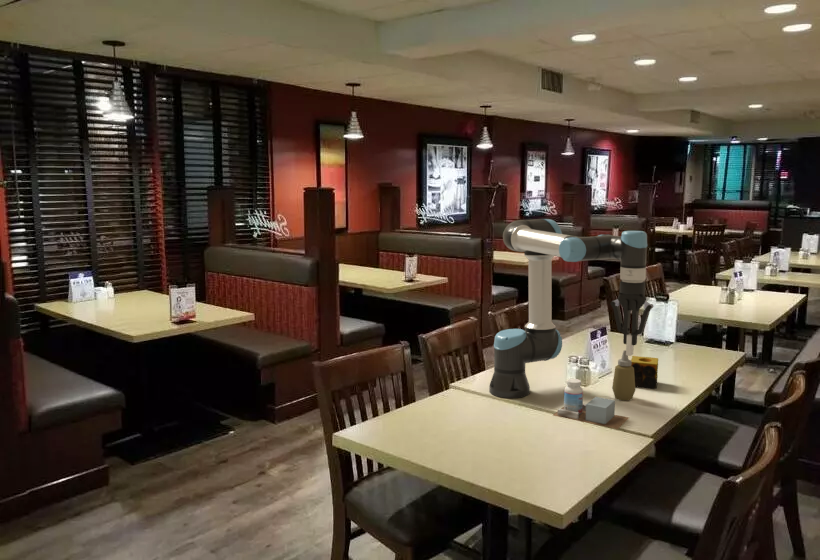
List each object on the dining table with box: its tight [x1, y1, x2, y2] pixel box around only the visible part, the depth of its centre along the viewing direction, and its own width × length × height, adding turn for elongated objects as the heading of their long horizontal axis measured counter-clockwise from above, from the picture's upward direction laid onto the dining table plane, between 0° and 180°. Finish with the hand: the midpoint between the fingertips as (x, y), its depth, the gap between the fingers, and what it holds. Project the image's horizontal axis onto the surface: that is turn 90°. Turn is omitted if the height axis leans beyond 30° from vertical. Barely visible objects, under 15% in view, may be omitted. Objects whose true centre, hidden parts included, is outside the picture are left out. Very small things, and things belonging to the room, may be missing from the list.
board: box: [552, 403, 630, 430], centre depth 216 cm, size 22×12×4 cm, turn 54°
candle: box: [630, 355, 659, 390], centre depth 253 cm, size 10×10×10 cm
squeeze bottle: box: [611, 349, 636, 402], centre depth 236 cm, size 8×8×18 cm
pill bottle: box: [563, 378, 584, 415], centre depth 219 cm, size 6×6×11 cm
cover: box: [585, 396, 616, 424], centre depth 214 cm, size 6×9×5 cm
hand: (629, 354), depth 205 cm, fingers closed
